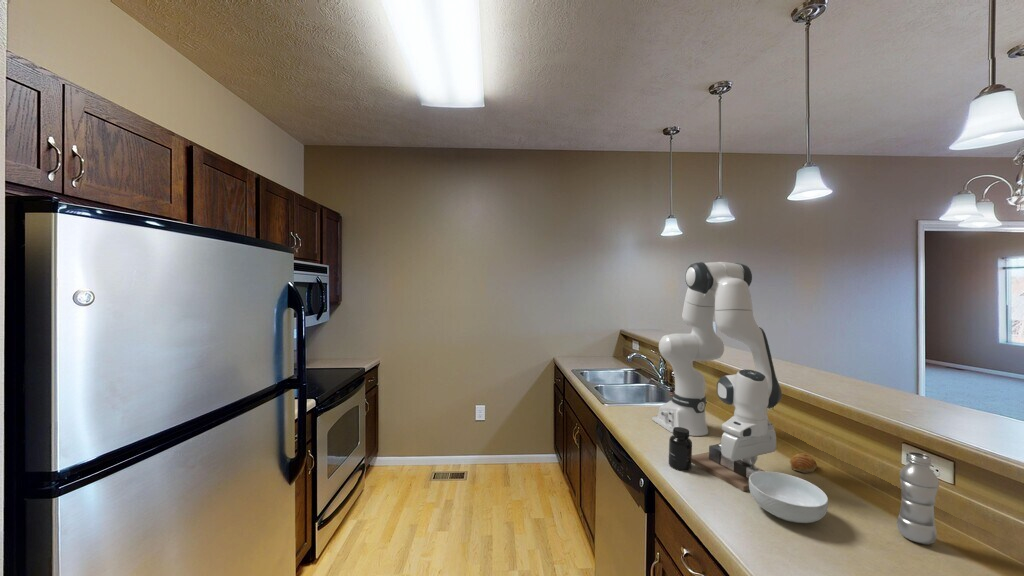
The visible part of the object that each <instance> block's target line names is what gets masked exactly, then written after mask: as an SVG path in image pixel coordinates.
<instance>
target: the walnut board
mask: <svg viewBox="0 0 1024 576" xmlns="http://www.w3.org/2000/svg"><path fill="white" fill-rule="evenodd" d="M741 461H743V460H742V459H741ZM691 464H693V465H694V464H695V465H694V466H696V467H698V468H700V469H701V470H703V469H704V470H703V471H705V472H707V473H709V474H710V475H713V476H715V477H716V478H718V479H720V480H721V481H723V482H725V483H727V484H729V485H730V486H733V488H734V487H735V489H738V490H740V491H741V492H747V491H750V489H749V479H748V478H745V477H743V476H741V475H740V474H738V473H736V472H734V471H733V470H731V469H729V468H727V467H725V466H723V465H719V464H717V463H715V462H713V461H711V460H709V451H708V452H702V453H699V454H694V455H693V454H692V461H691ZM754 467H755V468H757V469H759V470H760V471H765V470H764V469H762V468H760V467H757V466H756V465H754Z"/></svg>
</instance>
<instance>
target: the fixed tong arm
mask: <svg viewBox="0 0 1024 576" xmlns="http://www.w3.org/2000/svg"><path fill="white" fill-rule="evenodd" d="M721 465H723V466H725V467H727V468H729V469H731V470H733V471H734V472H736V473H738V474H740V475H741V476H743V477H745V478H748V479H749V477H750V475H751V474H753V473H755V472H757V471H756V470H754V469H752V468H750V467H749V466H747V465H745V464H743V463H741V462H739V461H730V460H728V459H726V458H724V457H723V455H721Z"/></svg>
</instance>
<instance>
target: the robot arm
mask: <svg viewBox="0 0 1024 576" xmlns="http://www.w3.org/2000/svg"><path fill="white" fill-rule="evenodd" d="M684 278H685V284H686V285H687V289H686V293H685V297H684V302H683V308H682V313H681V318H682V320H683V322H684V323H685V324H686V325H688V326H689V327H691V331H690V332H689V333H680V332H679V333H678V332H677V333H675V332H674V333H669V334H665V335H663V336H662V337H661V338H660V339H659V342H658V351H659V354H660V355H661V356H662V358H663V359H665V360H666V361H667V362H668V363H669V365H670V366H671V369H672V371H673V374H674V391H673V392H670V393H669V397H671V396H672V397H671V400H669V401H667V402H666V403H664V404H662V405H661V406H659V408H658V411H657V412H658V414H657V415H654V416H652V418H651V420H652V421H653V422H655V423H656V424H657V425H659V426H660V427H662V428H664V429H665V430H667V431H668V432H670V433H672V434H673V428H674V427H682V428H685V429H687V430H689V436H693V437H694V436H695V437H696V436H697V437H700V436H701V437H702V436H706V435H708V434H709V429H708V424H707V416H706V406H707V396H705V395H706V394H705V393H706V378H705V376H704V374H703V373H701V372H700V371H699V370H697V369H695V367H694V364H693V363H694V362H699V361H700V362H710V361H714V360H718V359H721V357H722V356H723V354H724V353H725V352H724V351H725V344H724V342H723V340H722V339H721V337H719V336H718V335H717V334H716V332H715V329H714V324H713V323H714V322H713V321H715V324H716V325H715V326H716V327H717V329H718V330H719V331H720V332H721V333H722V334H724V335H725V336H726V337H729V338H731V339H734V340H735V341H736V340H737V341H738V342H741V343H743V344H745V345H746V346H747V347H748V348H749V349H750V351H751V353H752V357H753V358H752V359H753V362H754V367H755V370H754V369H741V370H738V371H737V372H736V373H734V374H727V375H722V377H720V378H719V379H718V381H717V382H716V395H717V397H718V398H719V400H721V402H723V403H724V404H725V405H728V406H729V405H730V406H734V411H733V415H732V416H731V417H730V418H729V419H727V421H725V422H723V423H722V424H721V430H722V431H723V433H722V435H721V441H720V443H721V453H722V455H723V457H724V458H726V459H728V460H730V461H737V460H743V462H745V463H747V464H750V465H752V466H753V467H754V466H755V464H756V463H757V460H758V456H763V455H767V454H771V453H775V452H776V449H777V435H776V434H777V433H776V430H775V428H774V427H775V426H774V423H772V422H771V421H769V416H768V413H767V412H768V409H773V408H774V407H775V406H777V405H778V404H779V403H780V402H781V399H782V397H783V396H782V395H783V393H782V389H781V385H780V383H779V381H778V378H777V375H776V371H775V368H774V362H773V358H772V354H771V349H770V345H769V341H768V338H767V336H766V333H765V330H764V329H763V328H762V327H760V326H759V325H758V324H757V322H756V320H755V317H754V313H753V312H754V311H753V300H752V295H751V291H750V288H749V287H750V286H751V284H752V281H753V273H752V271H751V268H750V267H749V266H748V265H746V264H743V263H739V262H728V261H714V262H713V261H712V262H711V261H710V262H709V261H708V262H702V261H701V262H694V263H691V264H690V265H689V266H688V268H687V269H686V272H685V277H684Z"/></svg>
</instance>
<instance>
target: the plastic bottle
mask: <svg viewBox="0 0 1024 576" xmlns="http://www.w3.org/2000/svg"><path fill="white" fill-rule="evenodd" d="M907 455H908V457H907V461H908V463H907V464H905V465H903V467H902V468H900V471H899V480H900V488H901V503H900V507H899V509H900V510H899V514H898V517H897V520H896V528H897V530H898V532H899V533H900V535H901V536H902V537H904V538H906V540H910V541H912V542H914V543H918V544H921V545H927V546H929V545H933V543H935V542H936V539H937V537H938V533H937V527H936V522H935V505H936V498H937V495H938V491H939V485H940V481H939V477H938V476H937V475H936V474H935V472H934V471H933V470H932V468H930V467H932V459H931V457H930V456H929V455H927V454H925V453H922V452H917V451H916V452H915V451H910V452H909V451H908V453H907Z"/></svg>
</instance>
